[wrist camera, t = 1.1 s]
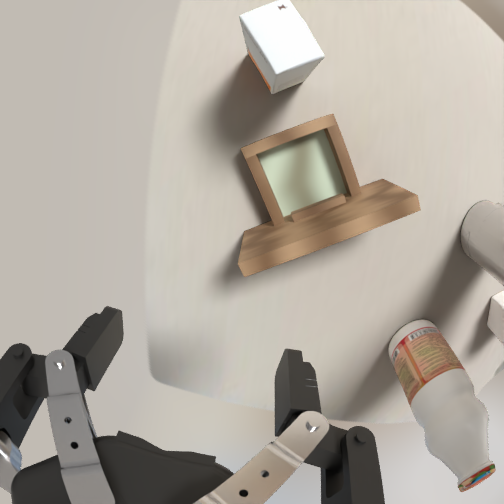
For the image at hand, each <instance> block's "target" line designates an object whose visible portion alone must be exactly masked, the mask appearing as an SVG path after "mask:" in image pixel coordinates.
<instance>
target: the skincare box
mask: <svg viewBox="0 0 504 504" xmlns="http://www.w3.org/2000/svg"><path fill="white" fill-rule="evenodd" d="M239 18H240V22H241V26H242V30H243V35H244V39H245V43H246V47H247V52H248V54H249V56H250V57H251V59H252V61H253V62H254V64H255V65H256V67H257V69H258V70H259V72H260V74H261V75H262V77H263V79H264V81H265V83H266V85H267V87H268V88H269V90H270V92H271V94H275V93H277V92H279V91H281V90H284V89H286V88H289V87H291V86H294V85H296V84H299V83H301V82H303V81H305V80H306V78H307V77H308V76H309V75H310V73H311V72H312V71H313V70H314V69H315V67H316V66H317V65H318V64H319V63H320V62H321V60H323V58H324V54H323V52H322V50H321V48H320V47H319V45H318V43H317V42H316V40H315V38H314V37H313V35H312V33H311V31H310V29H309V27H308V26H307V24H306V23H305V21H304V20H303V19H302V17H301V16H300V15H299V13H298V12H297V10H296V9H295V7H294V6H293V5H292V3H291V2H290V0H277V1H274V2H272V3H269V4H267V5H264V6H261V7H259V8H256V9H254V10H251V11H249V12H247V13H244V14H242V15H240V16H239Z"/></svg>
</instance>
